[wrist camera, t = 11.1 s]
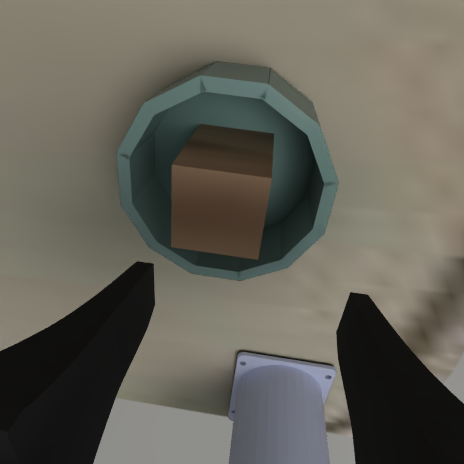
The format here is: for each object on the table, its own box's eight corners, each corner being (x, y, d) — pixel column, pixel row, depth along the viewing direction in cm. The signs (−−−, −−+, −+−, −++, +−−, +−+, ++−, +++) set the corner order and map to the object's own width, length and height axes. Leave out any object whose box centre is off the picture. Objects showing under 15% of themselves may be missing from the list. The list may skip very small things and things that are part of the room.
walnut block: (263, 199, 21) (258, 259, 16) (197, 190, 21) (171, 247, 16) (274, 133, 19) (271, 178, 14) (200, 123, 19) (171, 164, 14)
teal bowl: (303, 245, 23) (308, 291, 19) (150, 222, 24) (125, 263, 20) (345, 77, 18) (363, 95, 14) (145, 52, 18) (109, 64, 14)
